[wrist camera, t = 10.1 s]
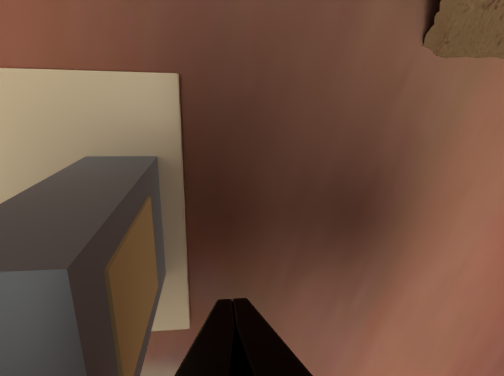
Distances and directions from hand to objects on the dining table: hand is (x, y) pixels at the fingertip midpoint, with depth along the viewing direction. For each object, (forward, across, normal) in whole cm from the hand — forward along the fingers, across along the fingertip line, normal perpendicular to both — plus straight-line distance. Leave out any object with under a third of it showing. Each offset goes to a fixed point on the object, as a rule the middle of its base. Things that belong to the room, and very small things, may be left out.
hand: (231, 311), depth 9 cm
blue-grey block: (+7, +4, 0) cm, 8 cm away
